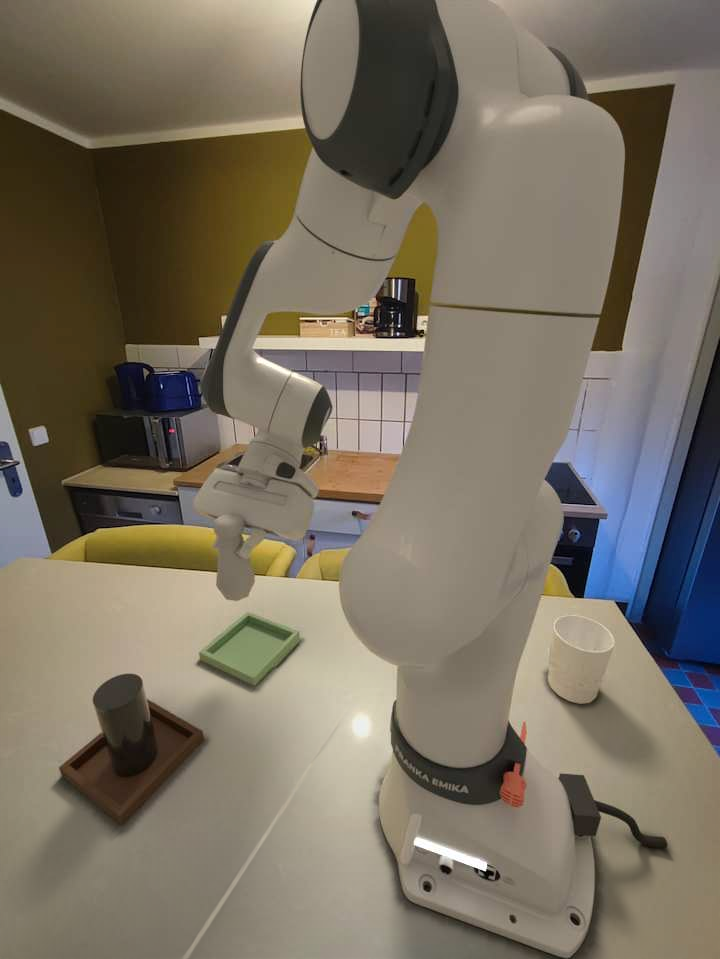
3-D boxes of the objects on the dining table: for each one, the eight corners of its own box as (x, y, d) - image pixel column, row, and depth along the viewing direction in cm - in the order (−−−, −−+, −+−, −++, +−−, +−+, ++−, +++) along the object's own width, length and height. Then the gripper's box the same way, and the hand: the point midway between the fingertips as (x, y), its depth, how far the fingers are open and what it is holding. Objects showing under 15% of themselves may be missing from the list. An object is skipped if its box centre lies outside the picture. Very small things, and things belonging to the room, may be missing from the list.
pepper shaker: (167, 748, 55) (152, 683, 51) (130, 785, 51) (110, 716, 47) (140, 731, 57) (124, 667, 53) (103, 765, 53) (82, 698, 49)
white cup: (607, 684, 65) (621, 631, 61) (591, 718, 60) (605, 661, 56) (554, 658, 70) (564, 607, 67) (535, 687, 65) (544, 633, 61)
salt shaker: (246, 606, 63) (236, 528, 59) (210, 602, 64) (199, 524, 60) (262, 584, 69) (254, 510, 64) (229, 580, 70) (219, 507, 65)
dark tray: (204, 742, 56) (202, 730, 56) (123, 829, 47) (119, 816, 46) (146, 707, 62) (144, 696, 61) (62, 779, 52) (58, 767, 51)
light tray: (300, 641, 74) (299, 631, 73) (255, 689, 65) (253, 678, 64) (248, 620, 79) (247, 611, 79) (200, 662, 70) (198, 652, 69)
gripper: (207, 453, 70) (166, 531, 65) (310, 472, 61) (272, 564, 56) (229, 471, 75) (193, 544, 71) (328, 491, 66) (294, 576, 62)
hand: (229, 553), depth 63 cm, fingers closed on salt shaker, 3 cm apart
